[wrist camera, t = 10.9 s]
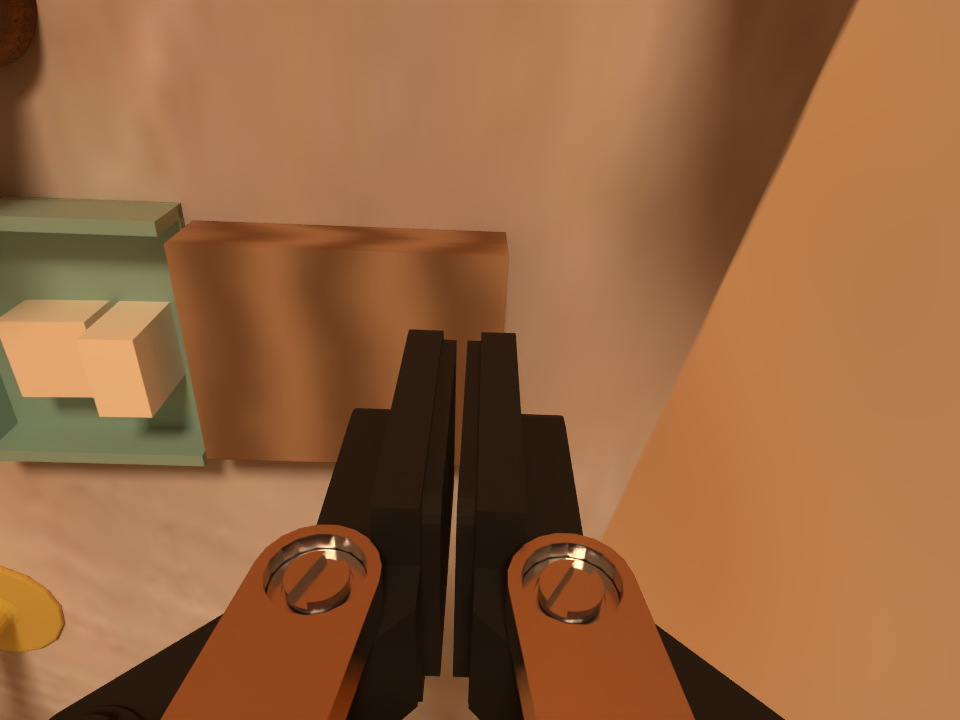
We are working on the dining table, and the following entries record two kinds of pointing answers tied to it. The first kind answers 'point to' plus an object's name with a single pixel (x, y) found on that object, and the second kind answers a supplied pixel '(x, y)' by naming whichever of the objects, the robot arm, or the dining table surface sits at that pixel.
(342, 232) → the board
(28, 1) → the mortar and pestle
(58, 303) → the tile
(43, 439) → the tray
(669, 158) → the dining table surface
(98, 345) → the tile
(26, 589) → the candle
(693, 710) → the robot arm
